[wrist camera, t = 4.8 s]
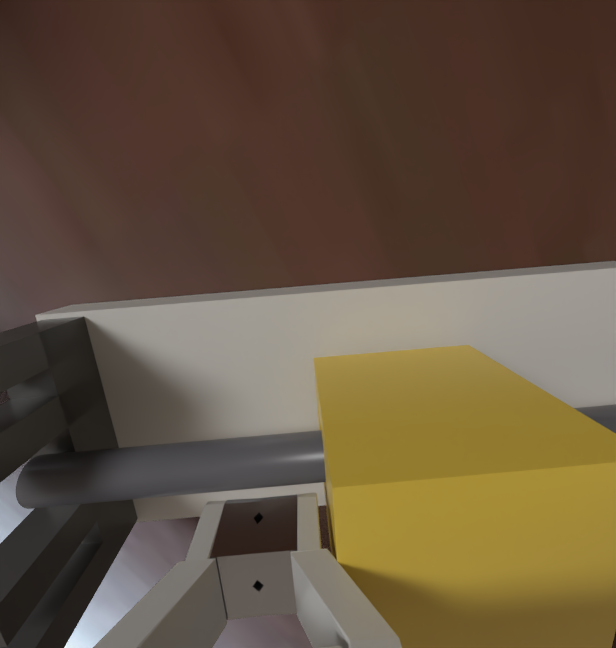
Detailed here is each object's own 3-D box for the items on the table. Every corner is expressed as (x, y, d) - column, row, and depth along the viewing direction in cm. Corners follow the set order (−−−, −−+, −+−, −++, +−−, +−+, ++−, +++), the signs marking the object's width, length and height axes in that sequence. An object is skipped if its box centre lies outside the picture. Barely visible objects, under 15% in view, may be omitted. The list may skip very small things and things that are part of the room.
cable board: (71, 304, 14) (-209, 383, 6) (821, 244, 14) (1425, 247, 7) (122, 492, 17) (-31, 713, 9) (758, 435, 17) (1143, 597, 9)
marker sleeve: (313, 357, 12) (332, 488, 6) (468, 344, 12) (656, 458, 6) (322, 472, 13) (345, 681, 7) (462, 459, 14) (609, 655, 7)
